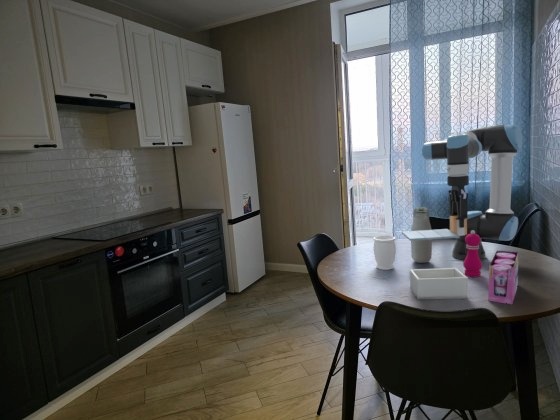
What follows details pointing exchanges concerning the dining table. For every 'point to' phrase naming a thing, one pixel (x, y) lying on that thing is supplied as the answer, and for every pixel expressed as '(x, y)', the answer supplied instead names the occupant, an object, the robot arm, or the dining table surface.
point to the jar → (384, 252)
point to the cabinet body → (438, 283)
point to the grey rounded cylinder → (421, 248)
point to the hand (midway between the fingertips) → (458, 233)
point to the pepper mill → (472, 255)
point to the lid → (436, 232)
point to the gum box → (503, 277)
